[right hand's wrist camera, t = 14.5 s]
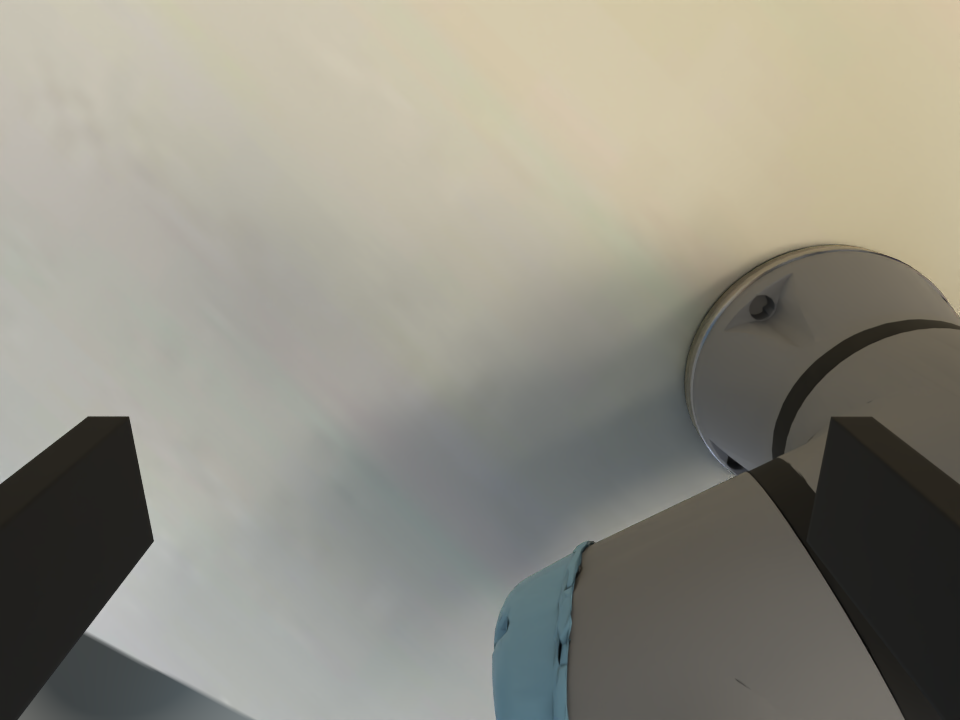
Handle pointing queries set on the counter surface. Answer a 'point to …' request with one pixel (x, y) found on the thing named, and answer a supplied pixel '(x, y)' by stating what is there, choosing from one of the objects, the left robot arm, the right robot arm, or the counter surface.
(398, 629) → the counter surface
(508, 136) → the counter surface
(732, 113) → the counter surface
